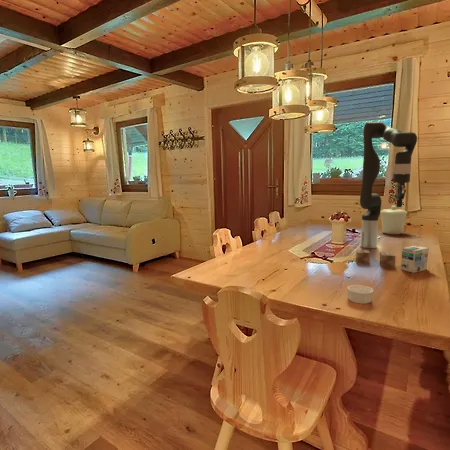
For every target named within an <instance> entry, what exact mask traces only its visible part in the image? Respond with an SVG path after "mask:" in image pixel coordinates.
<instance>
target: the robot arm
mask: <svg viewBox="0 0 450 450" xmlns="http://www.w3.org/2000/svg"><path fill="white" fill-rule="evenodd" d="M380 138H383V139H384V141H386V142H388V143H391V144H392V145H393V146H394V147H396V148H404V150H402V151H398V152H397V153H396V154H395V157H394V158H395V160H394V166H393V176H392V182H393V183H397V184H396V186H395V188H394V189H395V198H396V207H397V208H402V207H403V200H404V199H405V196H406V193H407V187H406V184H407V183H410V182H411V169H412V165H411V164H412V156H413V152H414V150H415V147H416V145H417V142H418V136H417V134H416V133H415V132H412V131H408V132H406V131H405V132H404V131H402V130H399V129H396V128H392V127H390V126H389V125H387V124H385V123H384V122H383V121H368V122H366V123H364V126H363V160H362V161H363V162H362V180H361V182H362V183H361V190H360V196H359V197H360V198H359V204H360V207H361V208H362V209H363V210H366V212H364V213H363V214H362V216H361V229H360V239H359V242H360V243H359V245H360V248H364V249H376V248H377V246H378V245H377V244H378V231H379V229H378V228H379V217H381V212H380V211H382V198H381V195H380V194H378V193H373V186H374V184H375V181H376V180H377V178H378V176H379V175H380V170H381V169H380V168H381V160H380V157H379V155H378V154H377V152H376V150H375V149H374V146H373V139H380Z"/></svg>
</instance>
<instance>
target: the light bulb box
mask: <svg viewBox="0 0 450 450" xmlns="http://www.w3.org/2000/svg"><path fill="white" fill-rule="evenodd" d="M401 250H402V251H401V263H400V270H402V271H405V272H410V273H413V274H414V273H418V272H422V271H426V270H428V260H429V248H428V247H425V246H421V245H416V244H415V245H411V246H406V247H402V249H401Z"/></svg>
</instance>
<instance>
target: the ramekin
mask: <svg viewBox="0 0 450 450" xmlns="http://www.w3.org/2000/svg"><path fill="white" fill-rule="evenodd" d="M373 293H374V289H373V288H372V287H370V286H367V285H362V284H352V285H349V286H347V297H348V300H350V301H351V303H352V302H353V303H356V304H360V305H362V304H363V305H365V304H370V303H371V302H372V300H373Z"/></svg>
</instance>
